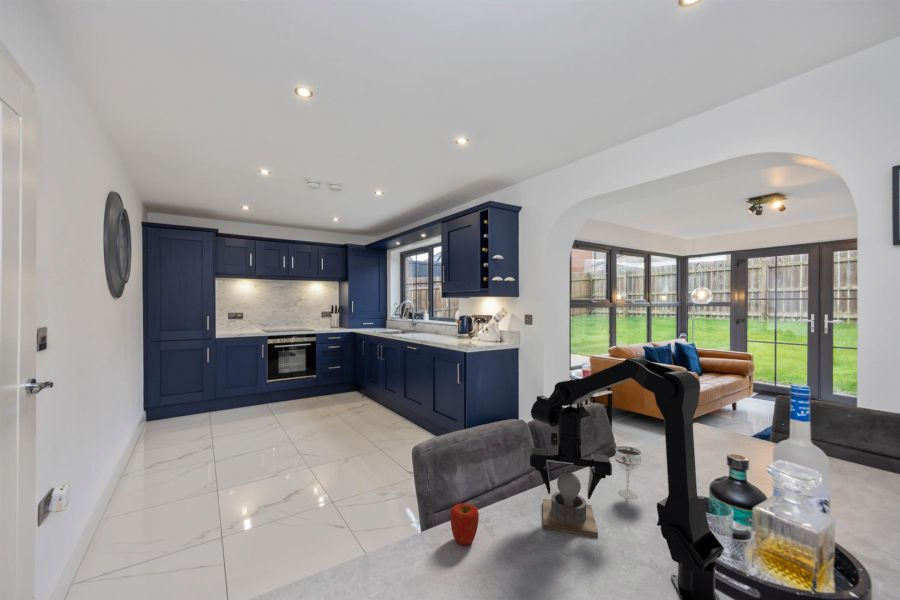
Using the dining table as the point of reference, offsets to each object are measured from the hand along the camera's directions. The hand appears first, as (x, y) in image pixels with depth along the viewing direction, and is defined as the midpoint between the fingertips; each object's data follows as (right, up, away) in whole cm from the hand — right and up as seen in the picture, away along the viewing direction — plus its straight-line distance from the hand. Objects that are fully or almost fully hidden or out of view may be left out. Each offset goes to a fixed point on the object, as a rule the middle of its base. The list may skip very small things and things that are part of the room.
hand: (568, 495), depth 93 cm
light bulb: (0, -5, 0) cm, 5 cm away
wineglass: (+20, -6, +13) cm, 25 cm away
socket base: (0, -6, 0) cm, 6 cm away
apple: (-26, -5, -9) cm, 28 cm away
